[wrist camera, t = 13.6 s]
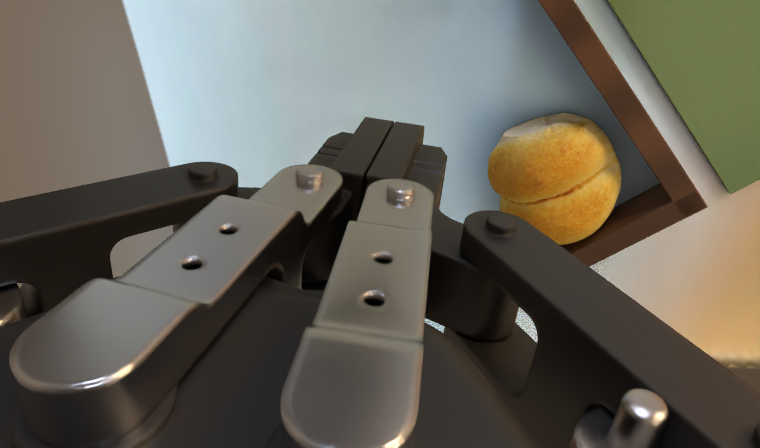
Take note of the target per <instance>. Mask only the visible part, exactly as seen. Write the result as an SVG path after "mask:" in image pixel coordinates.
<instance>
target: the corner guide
mask: <svg viewBox="0 0 760 448" xmlns="http://www.w3.org/2000/svg"><path fill="white" fill-rule="evenodd" d="M538 1H539V2H540V4H541V5H542V7H543V8H544V10H545V11H546V13H547V14H548V16H549V17H550V19H551V20H552V22H553V23H554V25H555V26H556V28H557V29H558V31H559V32H560V34H561V35H562V37H563V38H564V40H565V41H566V43H567V44H568V46H569V47H570V49H571V50H572V52H573V53H574V55H575V56H576V58H577V59H578V61H579V62H580V64H581V65H582V67H583V68H584V70H585V71H586V73H587V74H588V76H589V77H590V79H591V80H592V82H593V83H594V85H595V86H596V87H597V89H598V90H599V92H600V93H601V95H602V96H603V98H604V99H605V101H606V102H607V104H608V105H609V107H610V108H611V110H612V111H613V113H614V114H615V116H616V117H617V119H618V120H619V122H620V123H621V125H622V126H623V128H624V129H625V131H626V132H627V134H628V135H629V137H630V138H631V140H632V141H633V143H634V144H635V146H636V147H637V149H638V150H639V152H640V153H641V155H642V156H643V158H644V159H645V161H646V162H647V164H648V165H649V167H650V168H651V170H652V171H653V173H654V174H655V176H656V177H657V179H658V180H659V182H660V184H658V185H657V186H655V187H653V188H651V189H649V190H647V191H645V192H644V193H642V194H640V195H638V196H636V197H634V198H632V199H631V200H629V201H627V202H625V203H623V204H621V205H620V206H618V207H616V208H614V209H613V211H612V212H611V213H610V215H609V216H608V218H607V219H606V221H605V222H604V223H603V224H602V225H601V227H600V228H599V229H597V230H596V231H595V232H594V233H593V234H591V235H590V236H588V237H586V238H584V239H582V240H579V241H577V242H574V243H570V244H564V245H560V246H561V247H563V248H564V249H565V250H567V251H568V252H569V253H571V254H572V255H573V256H575V257H576V258H578V259H579V260H580V261H582V262H583V263H584V264H586V265H587V266H588V267H589V266H591V265H593V264H595V263H597V262H599V261H601V260H603V259H605V258H607V257H609V256H611V255H613V254H615V253H617V252H619V251H621V250H623V249H625V248H627V247H629V246H631V245H633V244H635V243H637V242H639V241H641V240H643V239H645V238H647V237H649V236H651V235H653V234H655V233H657V232H659V231H661V230H663V229H665V228H667V227H669V226H671V225H673V224H675V223H677V222H678V221H680V220H682V219H684V218H687V217H689V216H691V215H693V214H695V213H697V212H699V211H701V210H703V209H705V208H707V207H708V206H707V205H706V203H705V201H704V200H703V198H702V197H701V195H700V194H699V192H698V191H697V189H696V188H695V186H694V184H693V183H692V181H691V180H690V178H689V177H688V175H687V174H686V172H685V171H684V169H683V168H682V166H681V164H680V163H679V161H678V160H677V158H676V157H675V155H674V154H673V152H672V151H671V149H670V148H669V146H668V144H667V143H666V141H665V140H664V138H663V137H662V135H661V134H660V132H659V131H658V129H657V128H656V126H655V124H654V123H653V121H652V120H651V118H650V117H649V115H648V114H647V112H646V111H645V109H644V108H643V106H642V104H641V103H640V101H639V100H638V98H637V97H636V95H635V94H634V92H633V91H632V89H631V88H630V86H629V84H628V83H627V81H626V80H625V78H624V77H623V75H622V74H621V72H620V71H619V69H618V68H617V66H616V64H615V63H614V61H613V60H612V58H611V57H610V55H609V54H608V52H607V51H606V49H605V48H604V46H603V44H602V43H601V41H600V40H599V38H598V37H597V35H596V34H595V32H594V31H593V29H592V28H591V26H590V24H589V23H588V21H587V20H586V18H585V17H584V15H583V14H582V12H581V11H580V9H579V8H578V6H577V4H576V3H575V1H574V0H538Z"/></svg>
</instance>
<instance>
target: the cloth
mask: <svg viewBox="0 0 760 448" xmlns="http://www.w3.org/2000/svg"><path fill="white" fill-rule="evenodd" d="M607 1H608V2H609V4H610V5H611V7H612V9H613V10H614V12H615V13H616V15H617V16H618V18H619V20H620V21H621V23H622V24H623V26H624V28H625V29H626V31H627V32H628V34H629V35H630V37H631V39H632V40H633V42H634V43H635V45H636V46H637V48H638V50H639V51H640V53H641V54H642V56H643V58H644V59H645V61H646V62H647V64H648V65H649V67H650V69H651V70H652V72H653V73H654V75H655V77H656V78H657V80H658V81H659V83H660V84H661V86H662V88H663V89H664V91H665V92H666V94H667V96H668V97H669V99H670V100H671V102H672V103H673V105H674V107H675V108H676V110H677V111H678V113H679V114H680V116H681V118H682V119H683V121H684V122H685V124H686V126H687V127H688V129H689V130H690V132H691V133H692V135H693V137H694V138H695V140H696V141H697V143H698V145H699V146H700V148H701V149H702V151H703V152H704V154H705V156H706V157H707V159H708V160H709V162H710V164H711V165H712V167H713V168H714V170H715V171H716V173H717V175H718V176H719V178H720V179H721V181H722V182H723V184H724V186H725V187H726V189H727V190H728V192H729V193H730V194H732V193H734V192H736V191H738V190H740V189H742V188H743V187H745V186H747V185H749V184H751V183H753V182H755V181H757V180H759V179H760V0H607Z"/></svg>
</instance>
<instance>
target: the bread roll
mask: <svg viewBox="0 0 760 448" xmlns="http://www.w3.org/2000/svg"><path fill="white" fill-rule="evenodd" d="M488 178H489V181H490V183H491V186H492V187H493V189H494V190H495V191H496V192H497V193H498V194H499V195H500V212H505V213H509V214H512V215H515V216H518V217H520V218H522V219H524V220H526V221H527V222H529V223H530V224H531V225H533V226H534V227H535V228H537V229H538V230H540V231H541V232H542V233H544V234H545V235H546V236H548V237H549V238H550V239H552V240H553V241H554V242H556V243H557V244H559V245H564V244H570V243H574V242H577V241H579V240H582V239H584V238H586V237H588V236H590V235H591V234H593V233H594V232H595V231H596V230H597V229H599V228H600V227H601V225H602V224H603V223H604V222H605V221H606V219H607V218H608V216H609V215H610V213H611V212H612V211H613V208H614V206H615V203H616V201H617V198H618V195H619V192H620V189H621V179H622V178H621V168H620V164H619V161H618V159H617V157H616V153H615V150H614V148H613V146H612V143H611V141H610V139H609V138H608V136H607V135H606V134H605V133H604V131H603V130H602V129H601V128H600V127H599V126H598V125H596V124H595V123H594V122H593V121H592V120H590V119H588V118H586V117H582V116H578V115H574V114H569V113H558V114H553V115H549V116H544V117H539V118H536V119H533V120H531V121H527V122H525V123H522V124H520V125H517V126H515V127H512V128H510V129H508V130H507V131H506V132H505V133H503V135H502V137H501V139H500V141H499V143H498V144H497V146H496V147H495V148H494V150H493V151H492V153H491V155H490V157H489V162H488Z"/></svg>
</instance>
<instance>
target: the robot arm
mask: <svg viewBox="0 0 760 448" xmlns="http://www.w3.org/2000/svg"><path fill="white" fill-rule="evenodd" d="M423 137H424V126H421V125H415V124H408V123H402V122H395V124H394V121H388V120H382V119H375V118H369V117H365V118H364V120H363V121H362V122H361V124H360V125H359V127H358V128H357V130H356V131H355V132H354V134H352V133H346V132H341V133H339V134H336V135H334V136H332V137H329V138H328V139H327V141H326V142H325V143H324V144H323V146H322V147H321V148H320V149H319V151H318V152H317V154H315V156H314V157H313V158H312V159H311V161H310V162H309V163H308V164H302V165H294V166H290V167H287V168H284V169H282V170H281V171H279V172H278V173H277V174H276V175H275V176H274V177H273V178H272V179H271V180H269V181H268V182H267V183H266V184H265V185H264V186H263V187H262V188H242V187H238V173H237V171H236V170H235V169H233V168H232V167H230V166H228V165H225V164H221V163H215V162H194V163H188V164H183V165H178V166H173V167H169V168H164V169H159V170H154V171H149V172H145V173H140V174H135V175H130V176H126V177H121V178H116V179H111V180H106V181H102V182H97V183H92V184H87V185H82V186H77V187H73V188H68V189H63V190H58V191H54V192H49V193H44V194H39V195H35V196H29V197H24V198H20V199H15V200H10V201H5V202H0V448H760V393H759V392H758V391H757V390H755V389H754V388H753V387H751V386H750V385H748V384H747V383H746V382H744V381H743V380H742V379H740V378H739V377H738V376H736V375H735V374H733V373H732V372H731V371H729V370H728V369H727V368H725V367H724V366H723V365H721V364H720V363H719V362H717V361H716V360H715V359H713V358H712V357H710V356H709V355H708V354H706V353H705V352H704V351H702V350H701V349H700V348H698V347H697V346H696V345H694V344H693V343H691V342H690V341H689V340H687V339H686V338H685V337H683V336H682V335H681V334H679V333H678V332H677V331H675V330H674V329H672V328H671V327H670V326H668V325H667V324H666V323H664V322H663V321H662V320H660V319H659V318H658V317H656V316H655V315H654V314H652V313H651V312H649V311H648V310H647V309H645V308H644V307H643V306H641V305H640V304H639V303H637V302H636V301H635V300H633V299H632V298H630V297H629V296H628V295H626V294H625V293H624V292H622V291H621V290H620V289H618V288H617V287H616V286H614V285H613V284H611V283H610V282H609V281H607V280H606V279H605V278H603V277H602V276H601V275H599V274H598V273H597V272H595V271H594V270H592V269H591V268H590V267H588V266H587V265H586V264H584V263H583V262H582V261H580V260H579V259H578V258H576V257H575V256H573V255H572V254H571V253H569V252H568V251H567V250H565V249H564V248H563V247H561V246H560V245H559V244H557V243H556V242H554V241H553V240H552V239H550V238H549V237H548V236H546V235H545V234H544V233H542V232H541V231H540V230H538V229H537V228H535V227H534V226H533V225H531V224H530V223H529V222H527V221H526V220H524V219H522V218H520V217H518V216H515V215H512V214H509V213H505V212H500V211H479V212H475V213H472V214H470V215H468V216H467V217H466V218H465V221H464V224H462V223H460V222H457V221H455V220H453V219H451V218H449V217H447V216H446V215H444V214H443V213H442V212H441V211H440V210H439V206H440V200H441V194H442V188H443V181H444V175H445V169H446V162H447V155H446V154H445V152H444V151H443V150H442V148H441V147H434V146H428V145H423ZM170 225H173V232H174V233H173V234H172V235H170V236H169V237H168V238H167V239H166V240H164V241H163V242H162V243H161V244H159V245H158V246H157V247H156V248H155V249H153V250H152V251H151V252H150V253H148V254H147V255H146V256H145V257H144V258H142V259H141V260H140V261H139V262H138V263H136V264H135V265H134V266H133V267H131V268H130V269H129V270H128V271H127V272H125V273H124V274H123V275H122V276H119V277H116V278H113V275H112V269H111V262H110V253H111V250H112V248H113V247H114V246H115V244H116V243H117V242H119V241H120V240H122V239H124V238H126V237H129V236H132V235H137V234H140V233H144V232H148V231H151V230H155V229H159V228H162V227H166V226H170ZM17 283H23V284H22V286H21V288H20V289H19V287H18V285H17ZM519 307H520V308H521V309H522V310H523V311H525V312H526V313H527V314H528V315H529V316H530V318H531V319H532V321H533V322H534V324H535V327H536V330H537V335H538V342H537V343H536V342H535V341H534V340H533V339H532V338H531V337H530V336H529V335H528V334H527V333H526V332H525V331H524V330H523V329H522V328H520V327H519V326H518V325H517V324H516V323H515V320H516V316H517V312H518V308H519ZM425 318H427V319H429V320H431V321H434V322H436V323H438V324H440V325H443V326H445V328H444V334H443V333H442V332H440V331H439V330H437V329H436V328H434V327H432V326H430V325H428V324H426V323H424V321H425Z"/></svg>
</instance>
